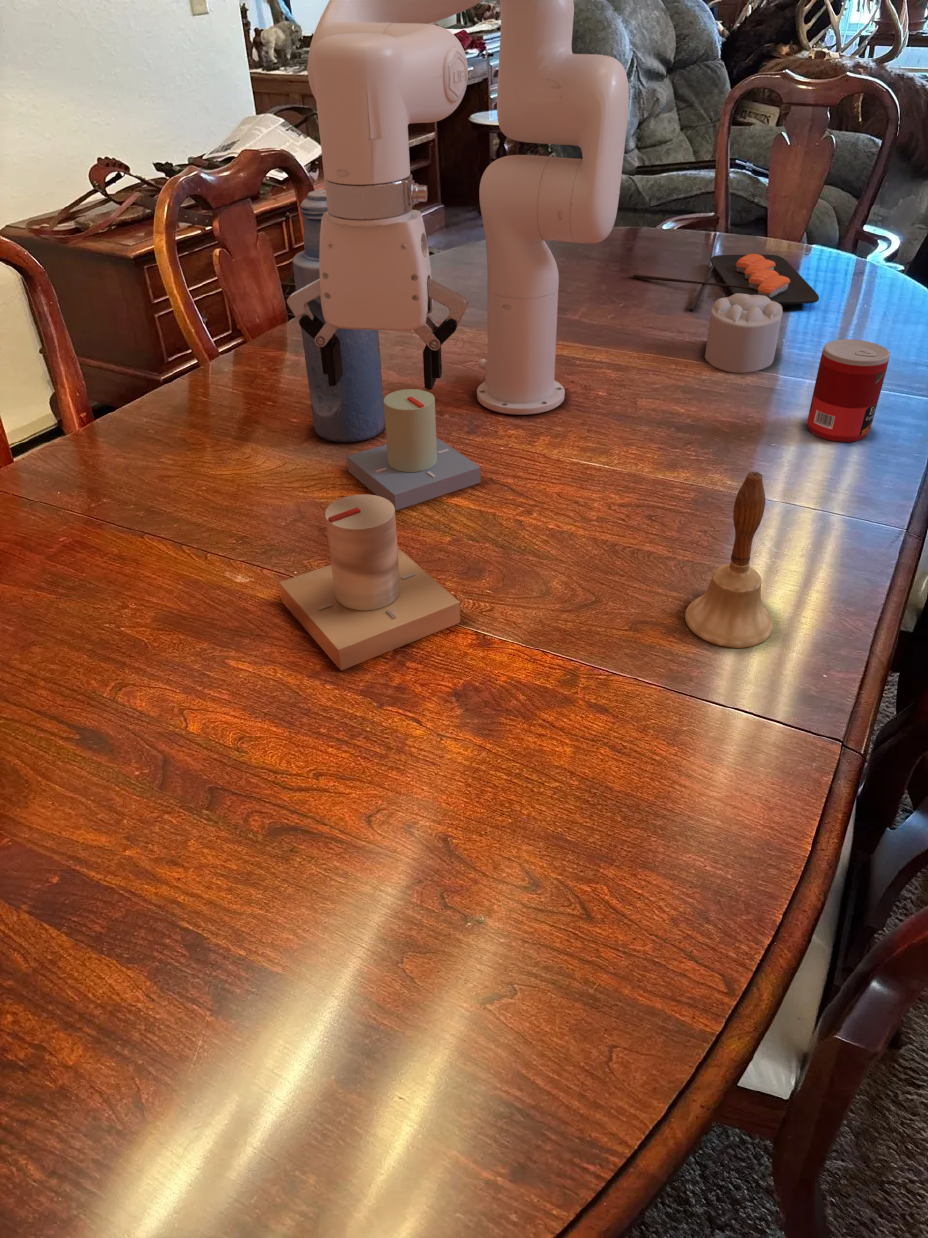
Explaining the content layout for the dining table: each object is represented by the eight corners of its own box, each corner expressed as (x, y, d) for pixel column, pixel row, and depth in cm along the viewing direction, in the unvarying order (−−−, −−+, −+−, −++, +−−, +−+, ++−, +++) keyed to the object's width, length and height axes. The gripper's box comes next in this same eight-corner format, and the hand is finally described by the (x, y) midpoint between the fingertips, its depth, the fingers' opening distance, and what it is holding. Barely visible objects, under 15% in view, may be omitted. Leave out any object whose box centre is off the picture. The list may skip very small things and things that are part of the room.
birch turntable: (282, 602, 93) (278, 580, 91) (394, 562, 98) (392, 541, 97) (340, 671, 84) (338, 648, 82) (460, 622, 90) (459, 600, 88)
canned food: (873, 445, 119) (895, 362, 112) (808, 440, 120) (826, 358, 113) (864, 420, 125) (885, 340, 118) (803, 416, 126) (820, 337, 119)
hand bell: (757, 658, 84) (791, 506, 75) (671, 630, 88) (693, 481, 78) (783, 612, 90) (818, 465, 80) (702, 588, 94) (726, 444, 84)
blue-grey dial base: (347, 471, 115) (346, 454, 114) (429, 447, 120) (429, 430, 119) (395, 511, 107) (394, 493, 106) (480, 482, 112) (480, 465, 111)
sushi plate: (822, 311, 160) (827, 289, 158) (649, 314, 161) (651, 292, 158) (778, 263, 183) (782, 243, 181) (627, 265, 184) (629, 245, 182)
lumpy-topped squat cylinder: (777, 346, 147) (787, 291, 142) (769, 376, 137) (780, 318, 132) (711, 339, 150) (718, 285, 145) (698, 368, 140) (706, 311, 135)
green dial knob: (379, 458, 113) (374, 394, 108) (421, 445, 116) (417, 382, 111) (403, 476, 109) (399, 411, 104) (446, 463, 112) (444, 398, 107)
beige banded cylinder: (378, 566, 93) (371, 484, 88) (413, 595, 89) (408, 511, 84) (322, 587, 90) (311, 504, 85) (356, 618, 86) (346, 533, 81)
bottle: (400, 426, 126) (385, 189, 108) (345, 451, 120) (320, 204, 102) (354, 407, 131) (332, 178, 113) (299, 430, 125) (267, 192, 107)
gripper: (471, 189, 83) (473, 371, 94) (286, 188, 86) (309, 365, 96) (459, 210, 78) (463, 401, 88) (262, 208, 80) (288, 394, 90)
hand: (383, 382), depth 92 cm, fingers open, 9 cm apart
